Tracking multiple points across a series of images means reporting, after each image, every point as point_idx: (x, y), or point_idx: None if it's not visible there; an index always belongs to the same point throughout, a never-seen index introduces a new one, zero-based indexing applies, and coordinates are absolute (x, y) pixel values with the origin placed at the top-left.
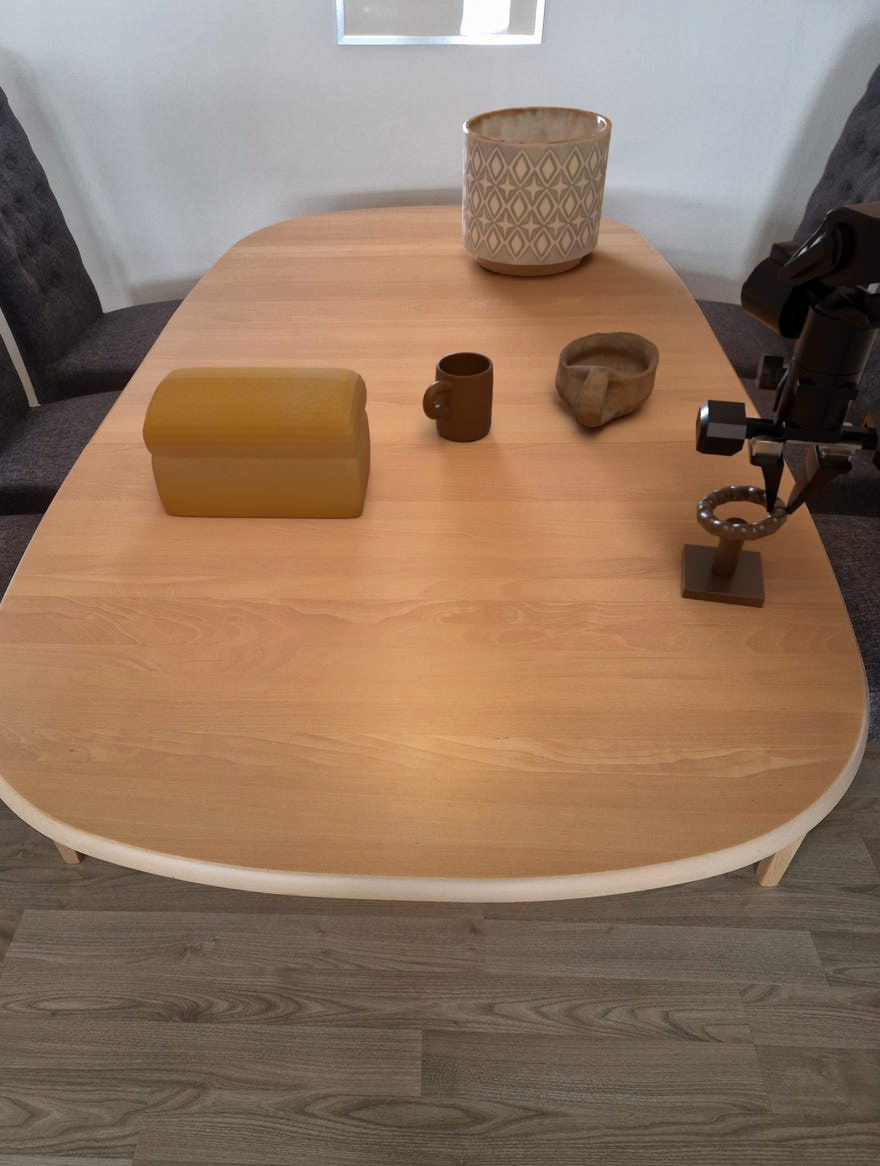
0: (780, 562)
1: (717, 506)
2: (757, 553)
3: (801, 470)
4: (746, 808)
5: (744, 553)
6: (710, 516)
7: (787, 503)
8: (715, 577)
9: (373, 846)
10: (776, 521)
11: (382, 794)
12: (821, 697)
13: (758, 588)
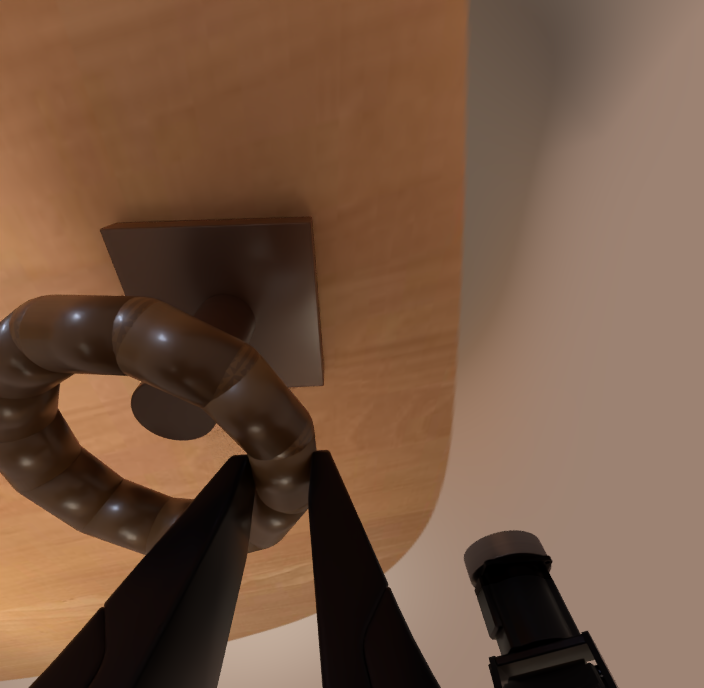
0: (369, 208)
1: (59, 385)
2: (302, 231)
3: (322, 672)
4: (312, 599)
5: (269, 239)
6: (55, 515)
7: (310, 469)
8: None
9: (44, 664)
10: (276, 539)
11: (12, 646)
12: (397, 500)
13: (310, 359)
